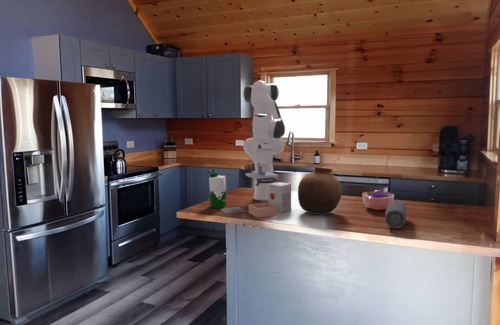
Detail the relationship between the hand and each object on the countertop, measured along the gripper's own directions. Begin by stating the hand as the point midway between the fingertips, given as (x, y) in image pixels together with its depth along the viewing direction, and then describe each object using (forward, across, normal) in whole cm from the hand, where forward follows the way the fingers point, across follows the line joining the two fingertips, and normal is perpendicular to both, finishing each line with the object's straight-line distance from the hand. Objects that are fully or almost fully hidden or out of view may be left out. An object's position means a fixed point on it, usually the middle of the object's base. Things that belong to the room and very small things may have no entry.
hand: (261, 171), depth 199 cm
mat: (+23, -15, -11) cm, 30 cm away
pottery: (+23, +10, +29) cm, 39 cm away
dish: (+23, 0, 0) cm, 23 cm away
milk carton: (+23, -27, -16) cm, 39 cm away
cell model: (+23, +15, +63) cm, 69 cm away
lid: (+2, 0, 0) cm, 2 cm away
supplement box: (+23, -5, +13) cm, 27 cm away
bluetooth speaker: (+23, +43, +50) cm, 70 cm away
